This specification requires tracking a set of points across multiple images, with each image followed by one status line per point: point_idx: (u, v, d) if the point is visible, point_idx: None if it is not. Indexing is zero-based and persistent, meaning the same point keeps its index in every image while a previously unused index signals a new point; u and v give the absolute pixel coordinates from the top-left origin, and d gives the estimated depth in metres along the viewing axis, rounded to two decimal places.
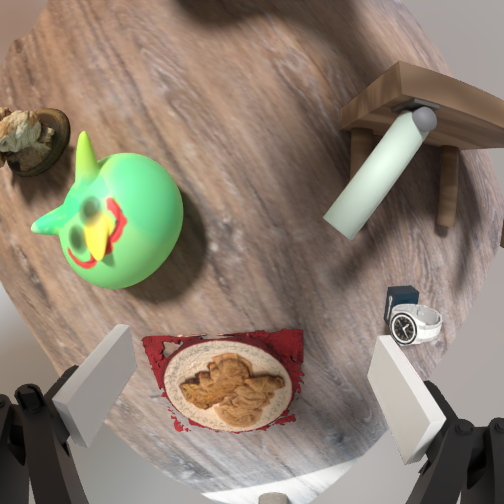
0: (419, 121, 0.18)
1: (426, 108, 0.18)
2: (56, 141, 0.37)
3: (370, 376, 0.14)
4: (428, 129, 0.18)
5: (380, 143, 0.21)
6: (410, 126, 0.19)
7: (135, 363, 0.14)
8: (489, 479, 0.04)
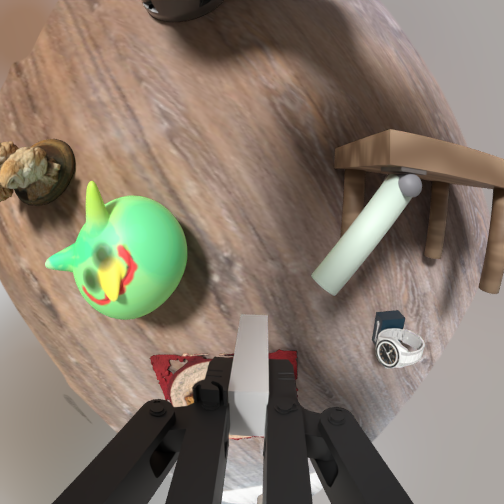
0: (404, 189, 0.22)
1: (412, 175, 0.22)
2: (62, 174, 0.40)
3: None
4: (412, 196, 0.22)
5: (366, 208, 0.24)
6: (395, 192, 0.23)
7: None
8: (347, 478, 0.06)
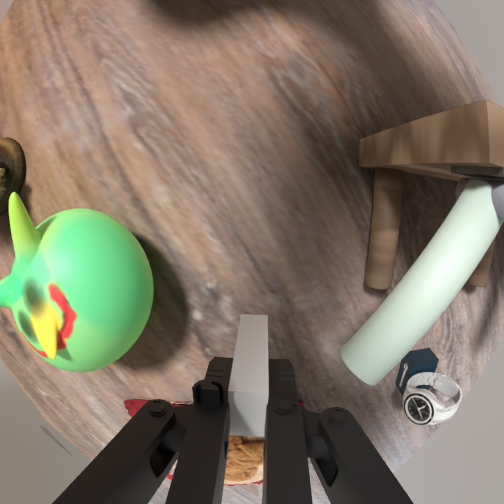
0: None
1: None
2: (10, 181, 0.28)
3: None
4: None
5: (440, 239, 0.12)
6: (488, 213, 0.11)
7: None
8: (347, 478, 0.06)
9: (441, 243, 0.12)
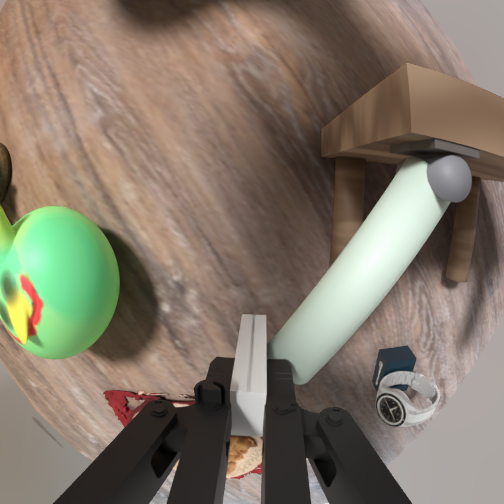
0: (441, 186, 0.10)
1: (454, 158, 0.09)
2: None
3: None
4: (456, 200, 0.10)
5: (365, 227, 0.12)
6: (423, 194, 0.11)
7: None
8: (345, 478, 0.06)
9: (365, 231, 0.12)
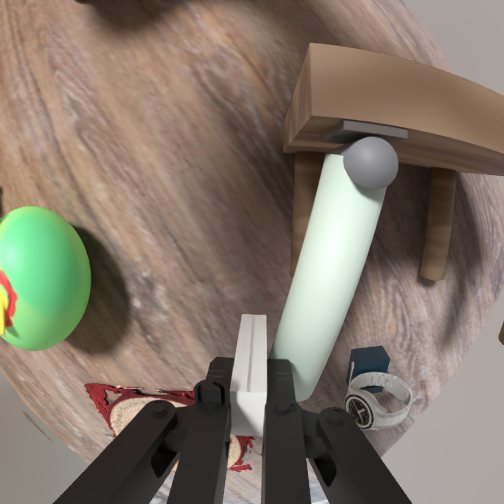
0: (360, 179, 0.10)
1: (366, 141, 0.10)
2: None
3: None
4: (384, 185, 0.10)
5: (305, 244, 0.13)
6: (347, 192, 0.11)
7: None
8: (345, 478, 0.06)
9: (305, 249, 0.13)
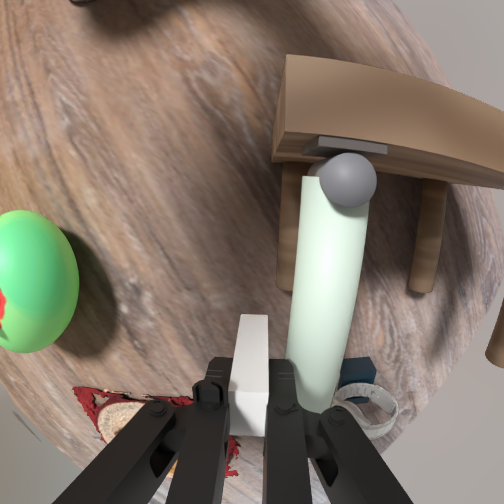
0: (338, 200, 0.10)
1: (338, 159, 0.10)
2: None
3: None
4: (364, 201, 0.10)
5: (296, 270, 0.13)
6: (329, 213, 0.11)
7: None
8: (347, 478, 0.06)
9: (298, 275, 0.13)
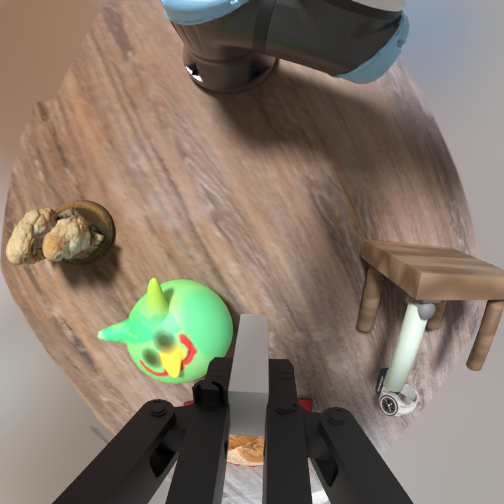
0: (423, 317, 0.28)
1: (426, 305, 0.28)
2: (103, 241, 0.46)
3: None
4: (430, 317, 0.28)
5: (402, 335, 0.31)
6: (418, 319, 0.29)
7: None
8: (347, 478, 0.06)
9: (402, 337, 0.31)
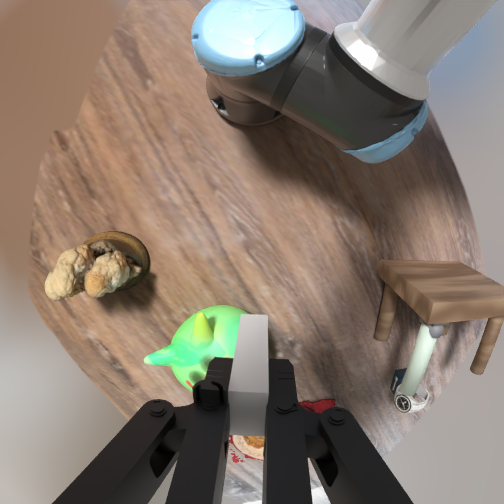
0: (434, 337, 0.32)
1: (436, 327, 0.32)
2: None
3: None
4: (439, 336, 0.32)
5: (416, 350, 0.35)
6: (429, 338, 0.33)
7: None
8: (347, 478, 0.06)
9: (416, 352, 0.35)
